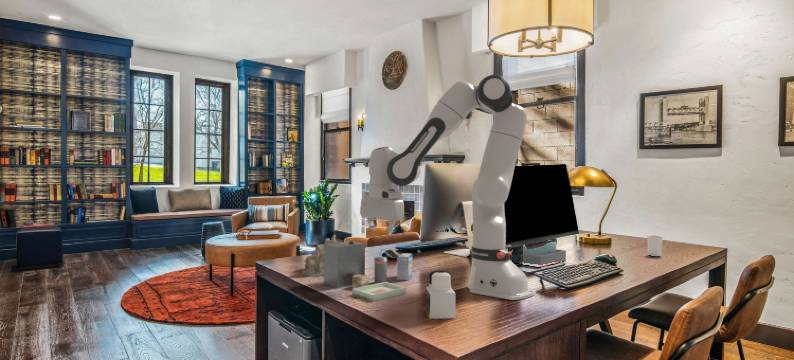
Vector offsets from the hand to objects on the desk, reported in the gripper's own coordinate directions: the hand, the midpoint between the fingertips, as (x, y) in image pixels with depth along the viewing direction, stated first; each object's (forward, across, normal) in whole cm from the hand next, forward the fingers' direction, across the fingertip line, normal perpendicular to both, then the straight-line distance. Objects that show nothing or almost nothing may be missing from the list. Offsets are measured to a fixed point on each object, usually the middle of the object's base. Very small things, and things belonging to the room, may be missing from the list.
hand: (380, 231), depth 159 cm
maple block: (+19, 0, -9) cm, 21 cm away
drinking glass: (+18, +47, +136) cm, 145 cm away
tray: (+18, +11, -10) cm, 24 cm away
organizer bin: (+18, +18, +78) cm, 82 cm away
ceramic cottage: (+19, -30, -5) cm, 36 cm away
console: (+18, -8, -10) cm, 22 cm away
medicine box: (+19, 0, +12) cm, 22 cm away
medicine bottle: (+19, +38, -11) cm, 44 cm away
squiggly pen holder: (+19, +16, +79) cm, 83 cm away
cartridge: (+18, 0, 0) cm, 18 cm away
